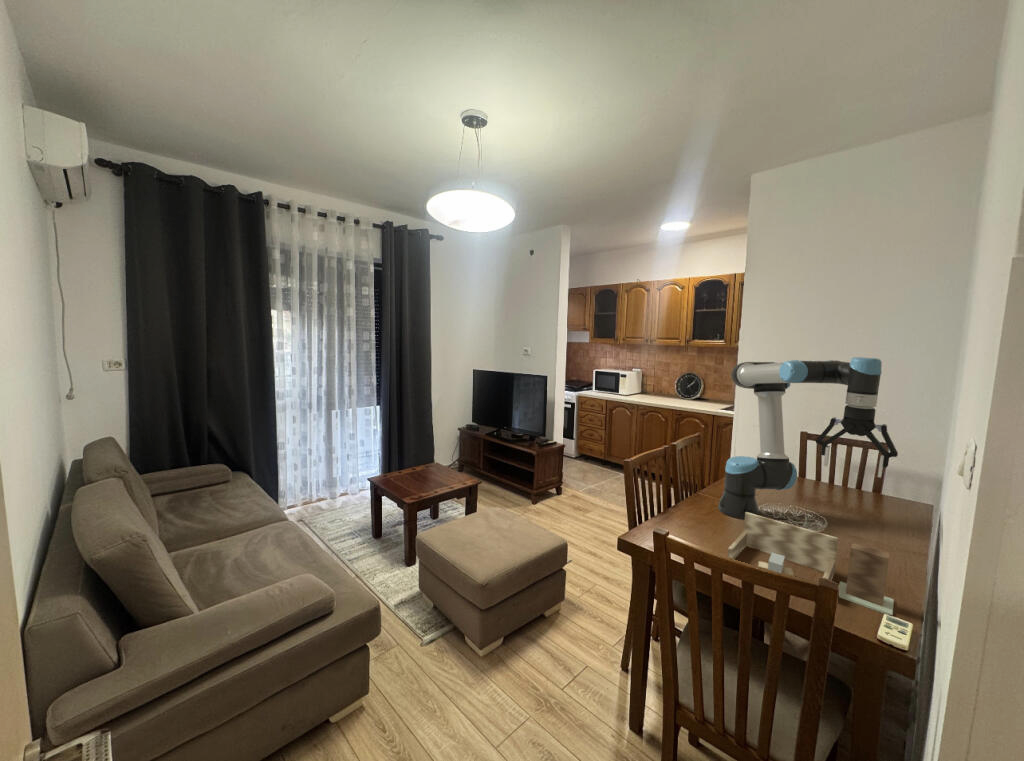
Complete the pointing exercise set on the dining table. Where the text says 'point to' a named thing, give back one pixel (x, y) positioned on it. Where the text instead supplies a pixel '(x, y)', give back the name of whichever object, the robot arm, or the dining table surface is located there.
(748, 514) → the zigzag patterned toy table
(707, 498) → the dining table surface
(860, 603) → the mat
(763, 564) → the offcut bottom
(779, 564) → the offcut top
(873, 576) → the cardboard parcel
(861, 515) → the dining table surface
